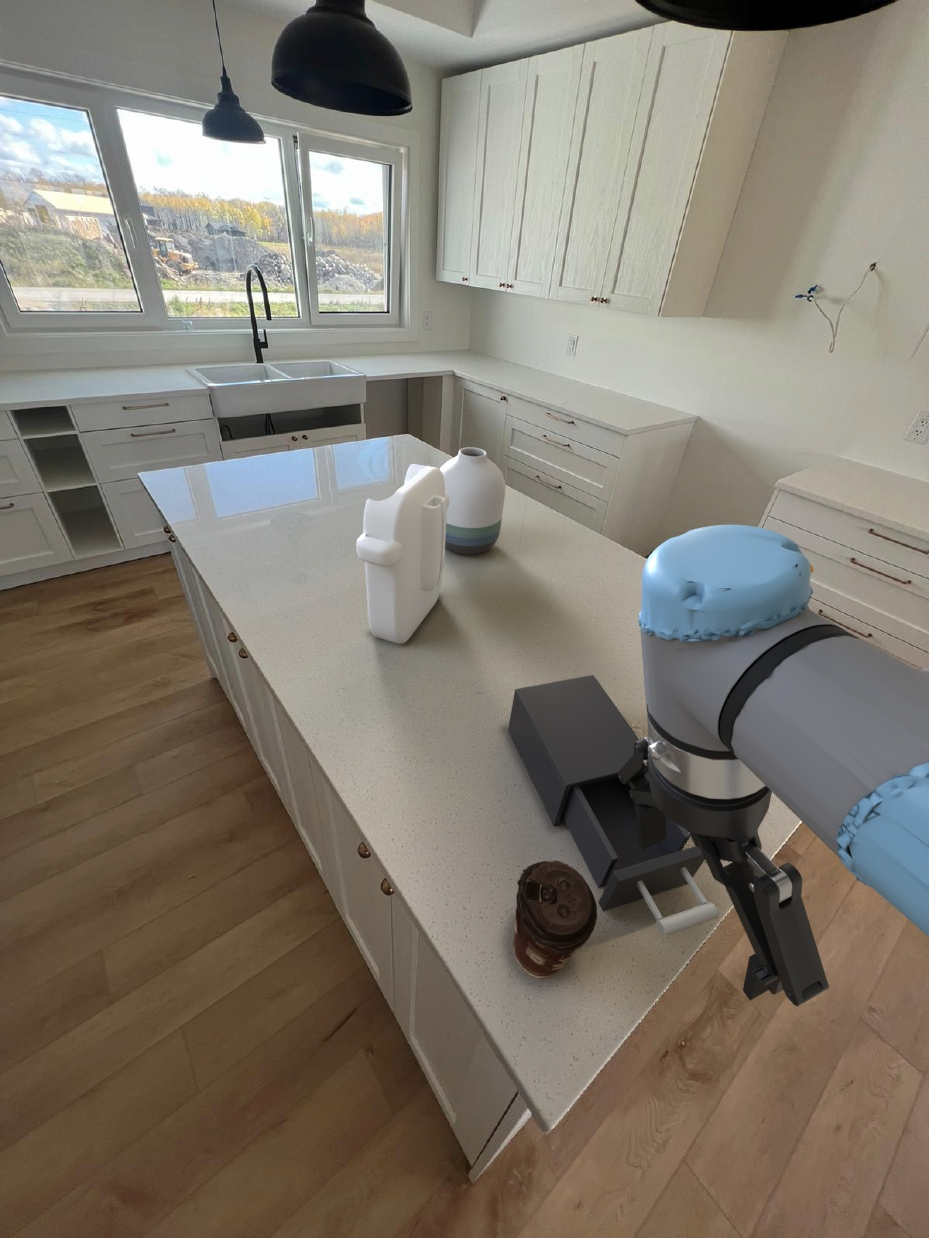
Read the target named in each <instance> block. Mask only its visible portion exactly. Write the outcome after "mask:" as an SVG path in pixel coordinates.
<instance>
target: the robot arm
mask: <svg viewBox="0 0 929 1238" xmlns="http://www.w3.org/2000/svg"><path fill="white" fill-rule="evenodd" d="M810 564H811V563H810V560H809V559H808V558H807V557H806V556H805V554H804V553H803V552H802V551H801V549H800V548H799V546H798V544H797V543H796V542H795V541H794V540H792V539H791V538H789V537H788V536H786V535H783V534H781V533H779V532H776V531H773V530H771V529H767V528H763V527H759V526H754V525H753V526H752V525H746V524H745V525H743V524H717V525H709V526H704V527H703V526H702V527H698V528H694V529H690V530H688V531H686V532H685V533H683V534H680V535H678V536H673V537H671V538H669V539H667V540H665V541H664V542H663V543H661V544H660V545H658V546H657V547H656V548H655V549H654V550H653V551H652V552H651V553H650V555H649V556H648V557H647V558H646V561H645V563H644V566H643V569H642V574H641V610H640V611H639V613H638V617H637V621H638V626H639V628H640V641H641V657H642V668H643V684H644V696H645V699H644V700H645V703H646V704H645V705H646V716H647V735H646V736H644V737H642V738H639V739H640V740H638V741H635V742H634V755H633V756H632V757H631V758H630V759H629V760H628V761H627V763H626V764H625V765H624V766H623V767H622V768H621V769H620V770H619V771H618V778H619V780H620V781H621V782H622V783H623V784H626V783H628V784H629V785H630V787H631V789H632V790H630V791H629V794H630V797H631V799H632V800H633V801H634V802H635V811H636V821H637V833H638V844H639V845H640V847H641V848H642V850H644V849H646V848H648V847H650V846H652V845H654V844H656V843H658V842H660V841H662V840H664V839H666V816H667V817H668V818H670V819H671V820H672V821H673V822H675V823H676V824H678V825H679V826H681V827H683V828H685V829H686V830H687V831H688V832H689V833H690V835H691V837H690V838H691V840H692V841H693V844H694V846H696V847H698V848H699V849H700V850H701V851H702V853H703V856H704V858H705V862H706V865H707V867H708V869H709V871H710V874H711V875H712V877H713V879H714V881H716V882H718V883H719V884H721V885H723V886H724V887H725V890H726V892H727V894H728V896H729V899H730V901H731V903H732V905H733V908H734V909H735V912H736V914H737V916H738V918H739V921H740V923H741V925H742V928H743V930H744V932H745V934H746V936H747V939H748V941H749V943H750V946H751V947H752V950H753V952H754V953H753V954H752V955H750V956H749V957H748V962H747V967H746V971H745V977H744V981H743V987H742V992H743V993H744V994H745V996H746V998H747V999H748V1000H749V1001H753V1000H754V999H756V998H758V997H759V996H761V995H763V994H764V993H766V992H768V991H769V992H770V994H771V995H777V994H778V993H779V994H780V992H782V991H783V992H784V994H785V997H786V998H787V1000H789V1001H790V1002H791V1003H792V1005H794V1006H795V1007H800V1006H801V1005H803V1004H805V1003H806V1002H808V1001H810V1000H811V999H813V998H815V997H817V996H818V995H820V994H821V993H822V994H823V993H824V992H825V991H827V990H828V989H829V988H830V985H829V983H828V982H829V981H828V979H827V974H826V972H825V969H824V965H823V962H822V959H821V956H820V952H819V949H818V946H817V943H816V939H815V937H814V933H813V930H812V926H811V924H810V920H809V916H808V913H807V911H806V906H805V904H804V901H803V898H802V893H803V892H802V891H803V876H802V875H801V873H800V871H799V870H798V869H797V867H796V866H795V865H794V864H792V863H791V862H785V863H783V864H782V865H780V866H778V865H777V864H776V863H774V861H772V860H771V859H770V858H769V857H768V856H767V855H766V854H765V853H764V852H763V851H762V848H763V847H762V841H761V838H760V835H759V832H758V831H759V828H760V826H761V824H762V822H763V821H764V819H765V818H766V815H767V813H768V811H769V808H770V804H771V799H772V794H774V795H775V796H776V797H777V799H779V801H780V802H781V803H783V804H784V805H785V806H786V807H787V808H788V809H789V810H790V811H791V812H792V813H793V814H794V815H795V816H796V817H797V818H798V819H799V820H800V821H801V822H802V823H803V824H804V825H805V826H806V827H807V828H808V829H809V830H810V831H811V832H812V833H813V834H814V835H815V836H816V837H817V838H818V839H819V840H820V841H821V842H822V843H823V844H824V845H825V846H826V847H827V848H828V849H829V850H831V852H833V854H834V855H836V857H837V858H838V859H839V860H840V863H841V864H842V865H844V866H845V868H846V870H848V872H849V873H851V874H852V875H853V876H854V877H855V879H856V880H857V881H858V882H860V883H862V884H863V885H864V886H868V887H869V888H871V889H873V890H874V891H875V892H876V893H877V894H879V895H880V897H882V898H883V899H885V901H887V902H888V903H889V904H890V905H891V906H892V907H894V908H895V909H896V910H897V911H898V912H899V913H900V914H902V915H903V916H904V917H905V918H906V919H907V920H908V921H910V922H911V923H912V924H913V925H914V926H915V927H917V929H919V930H920V931H921V932H922V933H923V934H925V936H927V937H928V938H929V667H926V668H923V669H917V668H914V667H912V666H910V665H908V664H907V663H905V662H903V661H901V660H900V659H898V658H896V657H894V656H893V655H890V654H888V653H887V652H885V651H883V650H882V649H880V648H878V647H876V646H874V645H873V644H871V643H869V642H867V641H865V640H864V639H862V638H859V637H858V636H856V635H854V634H853V633H850V632H849V631H847V630H846V629H844V628H842V627H841V626H840V625H838V624H836V623H835V622H833V621H831V620H830V619H827V618H826V617H823V616H822V615H820V614H818V613H816V612H814V611H813V610H812V609H810V607H809V603H810V601H811V598H812V595H813V594H814V588H812V586H811V575H812V573H811V567H810ZM648 772H649V781H648V780H647V778H646V777H645V775H644V774H647V773H648ZM722 861H724V862H729V863H728V864H726V865H723V862H722Z"/></svg>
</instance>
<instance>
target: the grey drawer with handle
mask: <svg viewBox="0 0 929 1238" xmlns="http://www.w3.org/2000/svg"><path fill="white" fill-rule="evenodd" d="M644 775H645V777H646V778H647V780H648V781H649V774H648V773H647V774H644ZM630 790H632V789H631V787H630V785H629V784H628V783H626V784H623V783H622V782H621V781H620V780H619V778H618V776H614V777H610V778H606V779H602V780H598V781H594V782H590V783H586V784H582V785H578V786H574V787H570V791H569V794H568V797H567V800H566V803H565V806H564V809H563V812H562V817H563V819H564V821H565V823H564V824H565V825H566V827H567V829H568V831H569V833H570V835H571V837H572V839H573V841H574V843H575V844H576V846H577V849H578V851H579V854H580V855H581V857H582V859H583V861H584V863H585V866H586V867H587V869H588V871H589V873H590V875H591V877H592V879H593V881H594V883H595V885H596V887H597V889H598V890H599V889H603V888H604V890H603V892H602V894H601V896H600V898H599V900H598V905H599V907H600V909H601V911H602V912H603V913H605V912H608V911H611V910H614V909H617V908H620V907H624V906H626V905H629V904H633V903H635V902H638V901H641V900H644V901H645V903H646V905H647V907H648V908H649V910H650V911H651V914H652V915H653V917H654V919H655V926H656V929H657V932H658V933H659V935H660V936H661V937H663V938H665V937H666V938H667V937H668V936H671V935H674V934H676V933H680V932H682V931H685V930H687V929H690V928H694V927H697V926H698V925H702V924H704V923H707V922H710V921H712V920H715V919H717V918H719V910H718V908H717V906H716V905H715V904H714V903H713V902H711V901H708V900H707V898H706V897H705V895H704V893H703V892H702V890H701V889H700V887H699V885H698V884H697V882H696V881H695V879H694V876H695V875H696V874H697V872H698V871H699V869H700V868H701V866H702V865H703V863H704V862H706V860H705V858H704V856H703V853H702V851H701V850H700V849H699V848H698V847H696V845H694V846H691V847H687V848H685V846H686V845H687V843H688V842H689V840H690V838H692V837H691V835H690V833H689V832H688V831H687V830H686V829H685V828H683V827H681V826H679V825H678V824H676V823H675V822H673V821H672V820H671V819H670V818H668V817H667V816H666V839H664V840H662V841H660V842H658V843H656V844H654V845H652V846H650V847H648V848H646V849H644V850H642V848H641V847H640V845H639V844H638V833H637V821H636V811H635V802H634V801H633V800H632V799H631V797H630V794H629V791H630ZM687 885H688V886H689V888H690V889H691V891H692V892H693V893H694V895H695V897H696V898H697V900H698V901H699V904H700V905H697V906H694V907H691V908H688V909H686V910H683V911H679V912H677V913H674V914H670V915H668V916H666V917H663V915H662V913H661V912H660V910H659V908H658V906H657V905H656V902H655V901H654V899H653V896H656V895H658V894H659V895H660V894H662V893H665V892H668V891H672V890H675V889H678V888H680V887H684V886H687Z"/></svg>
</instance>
